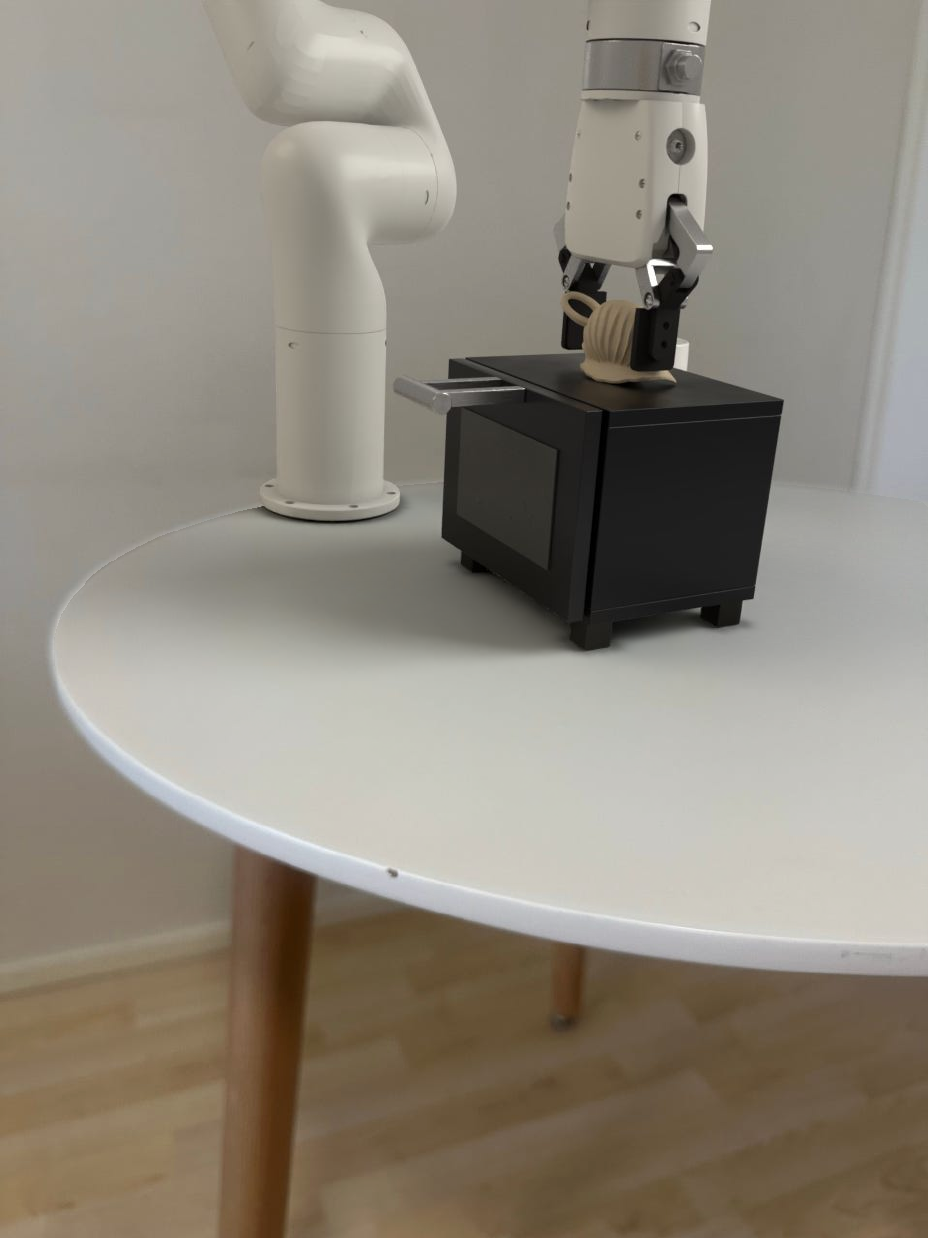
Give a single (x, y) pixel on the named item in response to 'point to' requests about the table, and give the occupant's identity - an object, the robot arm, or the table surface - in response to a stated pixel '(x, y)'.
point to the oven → (666, 492)
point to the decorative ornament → (609, 340)
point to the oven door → (516, 479)
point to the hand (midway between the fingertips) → (615, 357)
